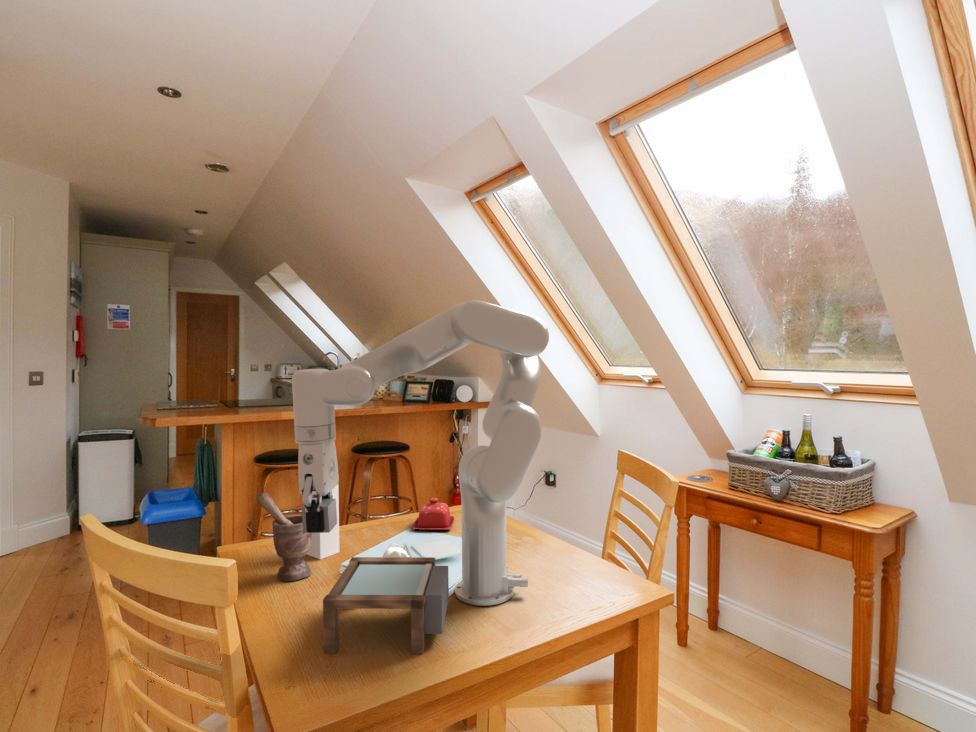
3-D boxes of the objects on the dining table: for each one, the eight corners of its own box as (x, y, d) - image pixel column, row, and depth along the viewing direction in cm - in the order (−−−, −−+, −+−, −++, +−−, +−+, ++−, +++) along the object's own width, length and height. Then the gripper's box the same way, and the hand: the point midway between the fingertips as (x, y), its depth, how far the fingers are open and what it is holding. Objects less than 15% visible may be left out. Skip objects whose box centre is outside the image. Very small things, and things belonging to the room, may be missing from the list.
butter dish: (411, 533, 158) (410, 503, 157) (418, 520, 169) (417, 492, 169) (451, 533, 157) (451, 503, 157) (455, 520, 169) (455, 492, 168)
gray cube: (337, 523, 110) (335, 498, 110) (329, 532, 105) (327, 506, 105) (312, 524, 110) (310, 499, 110) (303, 533, 105) (301, 507, 105)
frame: (435, 602, 115) (435, 557, 115) (423, 654, 96) (422, 600, 96) (352, 602, 115) (352, 557, 115) (323, 653, 96) (322, 599, 96)
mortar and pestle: (262, 589, 122) (260, 499, 121) (256, 575, 129) (254, 490, 128) (316, 578, 127) (314, 491, 126) (308, 565, 135) (306, 483, 134)
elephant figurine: (378, 568, 133) (377, 543, 133) (411, 564, 135) (411, 540, 135) (380, 579, 126) (380, 553, 126) (415, 575, 128) (415, 550, 128)
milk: (325, 547, 146) (324, 464, 145) (340, 552, 143) (338, 467, 142) (305, 554, 141) (303, 468, 141) (320, 560, 138) (318, 472, 137)
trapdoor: (449, 598, 113) (448, 563, 112) (441, 636, 98) (441, 596, 98) (360, 597, 113) (360, 563, 113) (340, 635, 98) (339, 596, 98)
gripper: (320, 441, 98) (326, 542, 99) (347, 425, 115) (351, 511, 116) (278, 442, 98) (284, 543, 99) (311, 426, 115) (315, 512, 116)
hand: (320, 525), depth 107 cm, fingers closed on gray cube, 5 cm apart
